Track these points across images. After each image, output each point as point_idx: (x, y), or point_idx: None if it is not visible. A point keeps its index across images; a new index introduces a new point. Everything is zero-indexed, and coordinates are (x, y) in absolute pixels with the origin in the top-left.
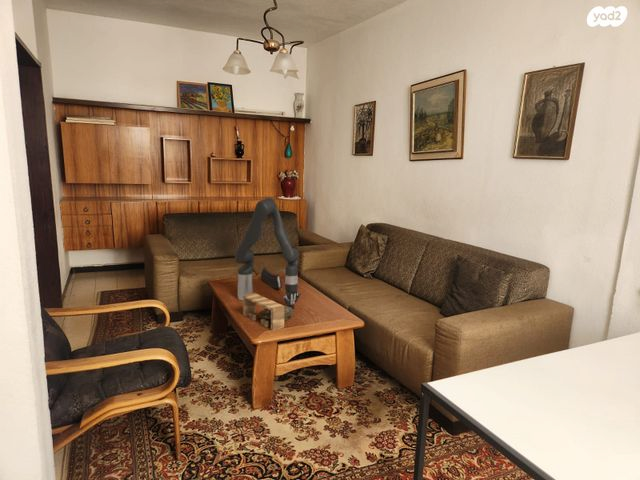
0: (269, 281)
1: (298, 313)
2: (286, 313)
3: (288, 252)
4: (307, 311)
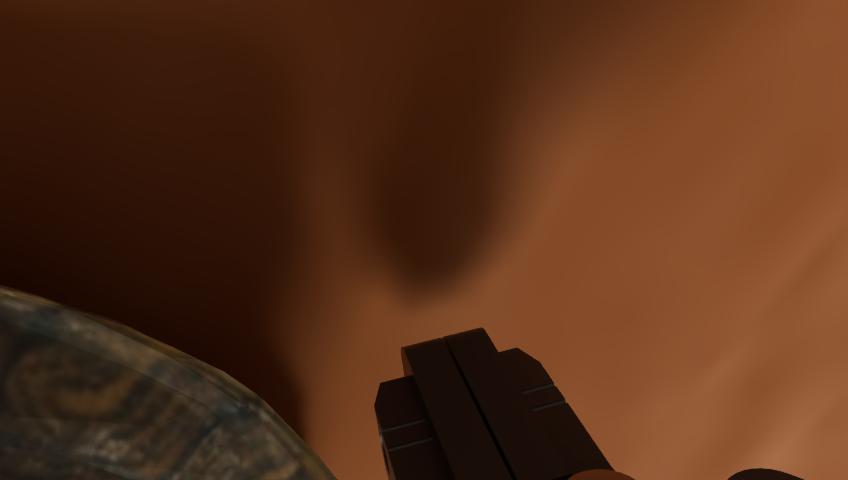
0: None
1: None
2: None
3: None
4: (758, 395)
